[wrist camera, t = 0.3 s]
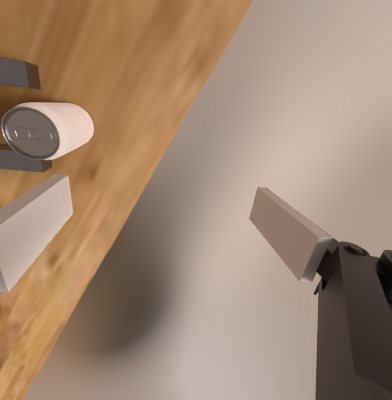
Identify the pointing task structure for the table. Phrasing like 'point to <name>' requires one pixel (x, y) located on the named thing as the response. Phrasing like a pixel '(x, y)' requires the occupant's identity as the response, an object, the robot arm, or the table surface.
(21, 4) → the table surface
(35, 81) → the slot guide
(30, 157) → the can
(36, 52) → the table surface
